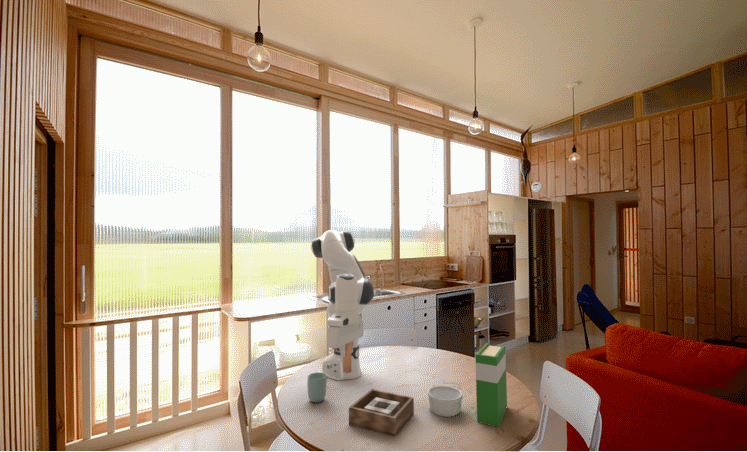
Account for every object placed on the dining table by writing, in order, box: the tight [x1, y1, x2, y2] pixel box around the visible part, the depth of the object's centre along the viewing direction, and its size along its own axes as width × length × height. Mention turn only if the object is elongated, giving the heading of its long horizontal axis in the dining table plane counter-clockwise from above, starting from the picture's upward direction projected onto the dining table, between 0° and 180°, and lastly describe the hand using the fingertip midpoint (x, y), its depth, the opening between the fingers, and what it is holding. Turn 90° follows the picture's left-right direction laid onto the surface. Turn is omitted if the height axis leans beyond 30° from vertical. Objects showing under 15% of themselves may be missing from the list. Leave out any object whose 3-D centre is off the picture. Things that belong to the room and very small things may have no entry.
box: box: [348, 388, 415, 438], centre depth 126 cm, size 18×18×6 cm
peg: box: [343, 342, 351, 373], centre depth 127 cm, size 3×3×12 cm
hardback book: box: [475, 342, 508, 428], centre depth 130 cm, size 18×7×24 cm, turn 149°
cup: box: [307, 372, 328, 403], centre depth 141 cm, size 8×8×10 cm
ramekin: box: [427, 385, 463, 418], centre depth 132 cm, size 13×13×7 cm
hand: (346, 354), depth 127 cm, fingers closed on peg, 3 cm apart
